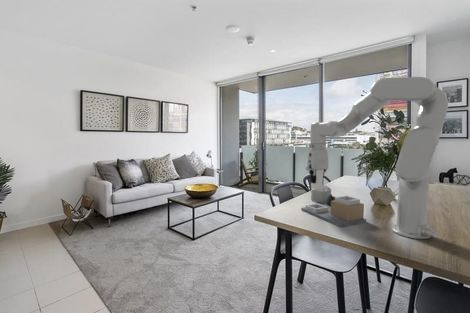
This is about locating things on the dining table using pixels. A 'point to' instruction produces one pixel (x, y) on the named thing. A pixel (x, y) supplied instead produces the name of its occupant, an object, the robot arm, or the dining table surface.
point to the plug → (318, 180)
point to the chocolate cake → (329, 199)
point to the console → (339, 211)
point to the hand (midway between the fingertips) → (316, 182)
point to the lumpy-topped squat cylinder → (320, 194)
